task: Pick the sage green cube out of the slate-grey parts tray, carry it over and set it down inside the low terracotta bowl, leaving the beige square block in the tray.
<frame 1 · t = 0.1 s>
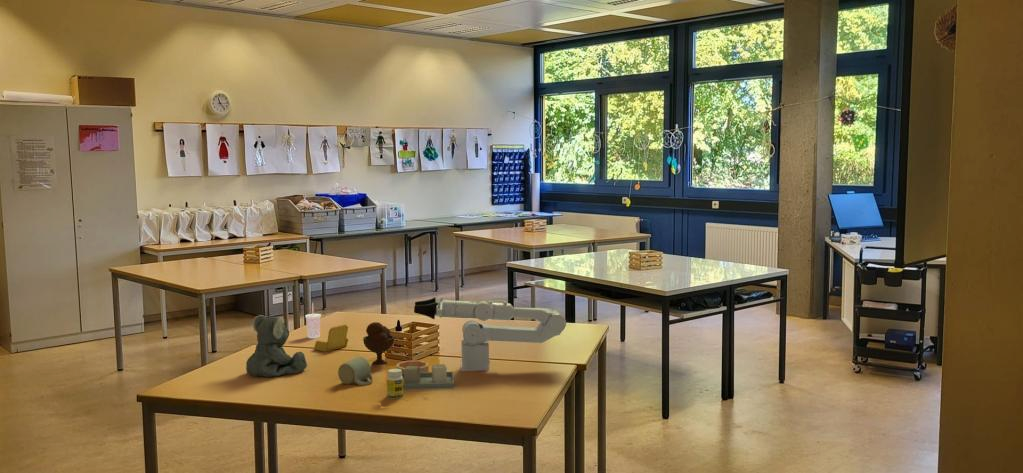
hand: (414, 307, 262), 22 cm above the table, tool horizontal, fingers open, 7 cm apart
bowl: (412, 373, 260), on the table
ceramic mug: (358, 383, 250), on the table
parts tray: (426, 383, 249), on the table
supplement bottle: (395, 398, 234), on the table
ice cream bowl: (379, 364, 272), on the table
beverage cup: (313, 337, 315), on the table
yellow bent piece: (331, 348, 297), on the table
sage green cube: (439, 381, 249), resting on parts tray
koala plush: (273, 372, 264), on the table
beige square block: (412, 383, 248), resting on parts tray
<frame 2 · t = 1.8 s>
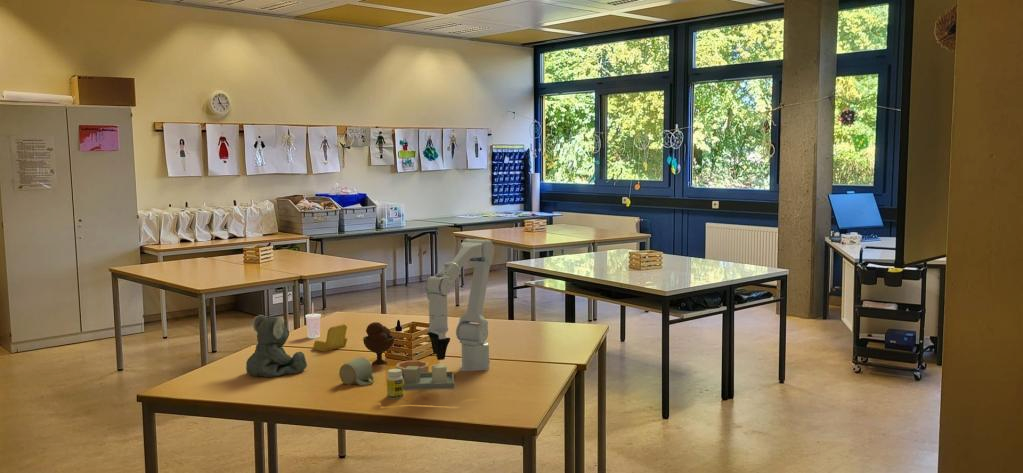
hand: (438, 356, 248), 9 cm above the table, tool pointing down, fingers open, 7 cm apart
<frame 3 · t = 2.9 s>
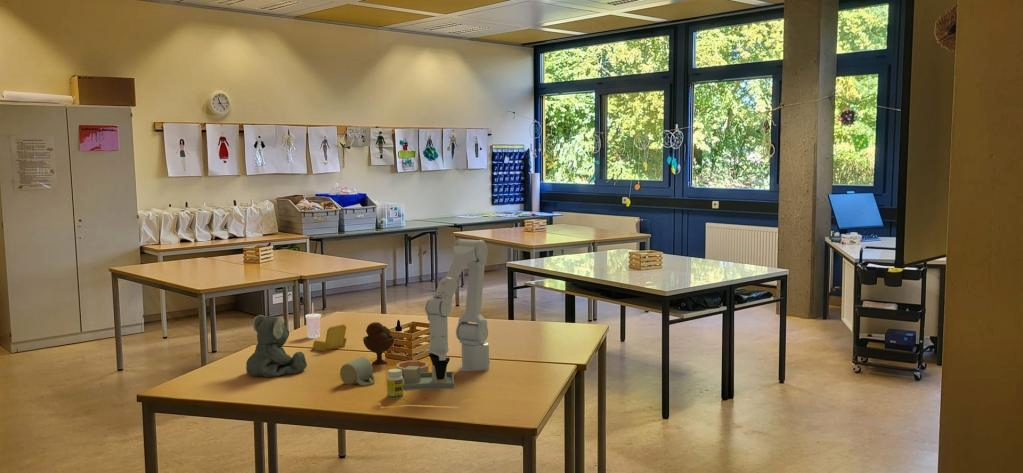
hand: (439, 377, 249), 2 cm above the table, tool pointing down, fingers closed on sage green cube, 4 cm apart
sage green cube: (439, 381, 249), resting on parts tray, touching gripper
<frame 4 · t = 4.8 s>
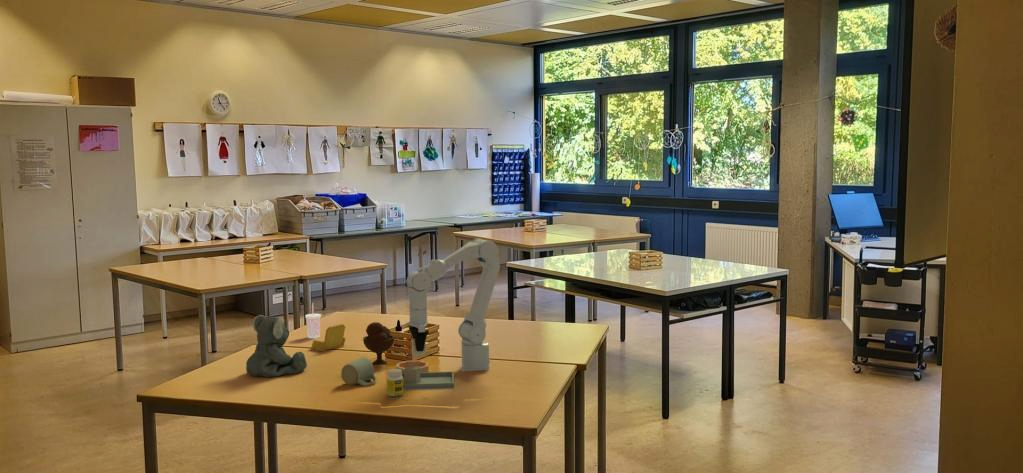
hand: (418, 349, 257), 9 cm above the table, tool pointing down, fingers closed on sage green cube, 4 cm apart
sage green cube: (418, 354, 257), point 7 cm above the table, touching gripper
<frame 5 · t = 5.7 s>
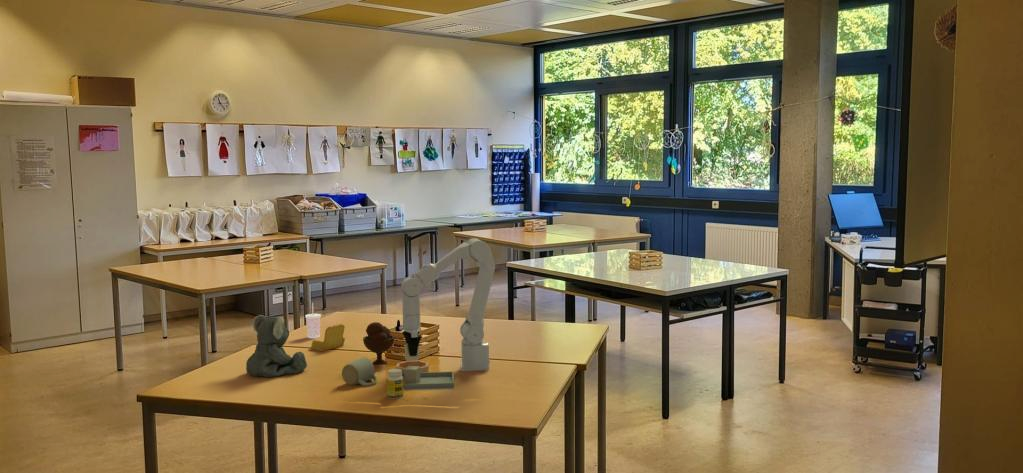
hand: (412, 354, 260), 7 cm above the table, tool pointing down, fingers closed on sage green cube, 4 cm apart
sage green cube: (411, 359, 260), point 5 cm above the table, touching gripper
when the fingers open (4 cm above the table, at t = 6.6 s): sage green cube drops 1 cm, resting on bowl.
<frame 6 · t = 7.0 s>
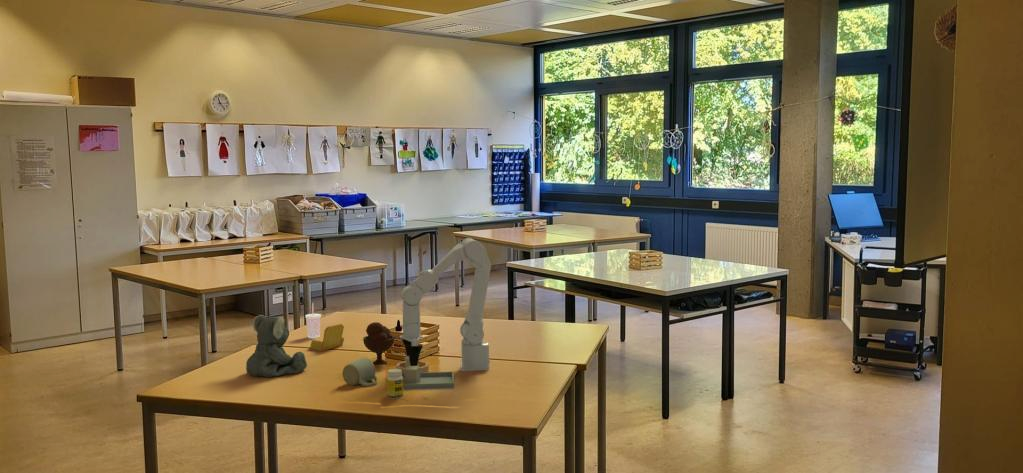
hand: (412, 362, 260), 4 cm above the table, tool pointing down, fingers open, 7 cm apart
sage green cube: (412, 371, 260), point 1 cm above the table, touching bowl
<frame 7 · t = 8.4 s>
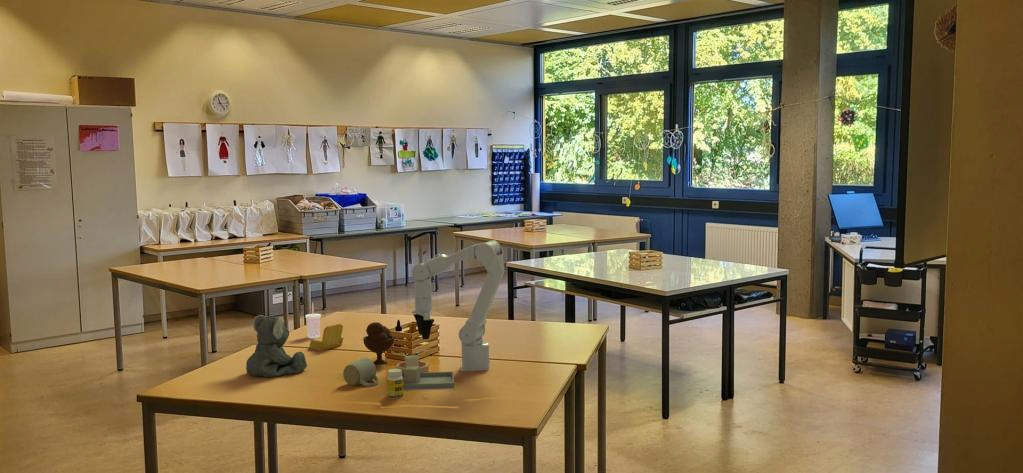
hand: (423, 336, 271), 10 cm above the table, tool pointing down, fingers open, 7 cm apart
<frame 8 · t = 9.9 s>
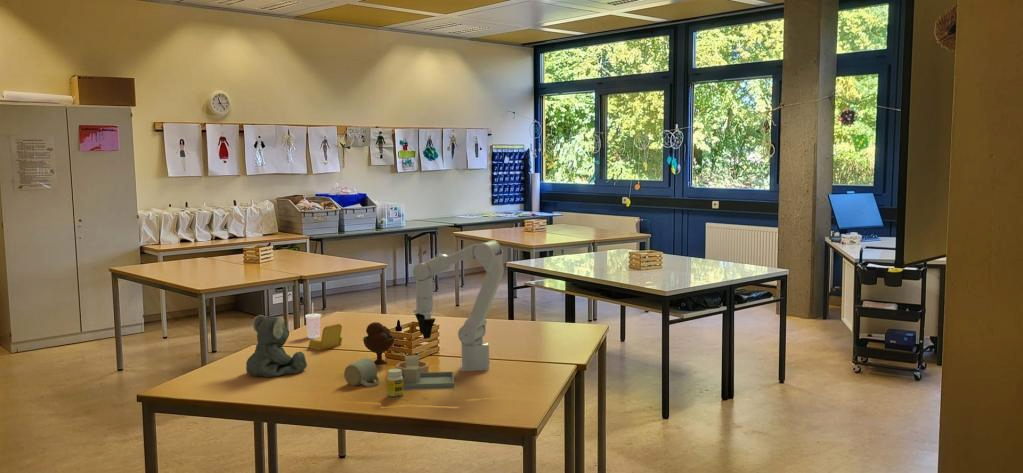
hand: (425, 335, 272), 10 cm above the table, tool pointing down, fingers open, 7 cm apart
at the end: sage green cube 0.2 cm from the bowl (horizontally); sage green cube point 0.6 cm above the table; the gripper is holding nothing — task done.
